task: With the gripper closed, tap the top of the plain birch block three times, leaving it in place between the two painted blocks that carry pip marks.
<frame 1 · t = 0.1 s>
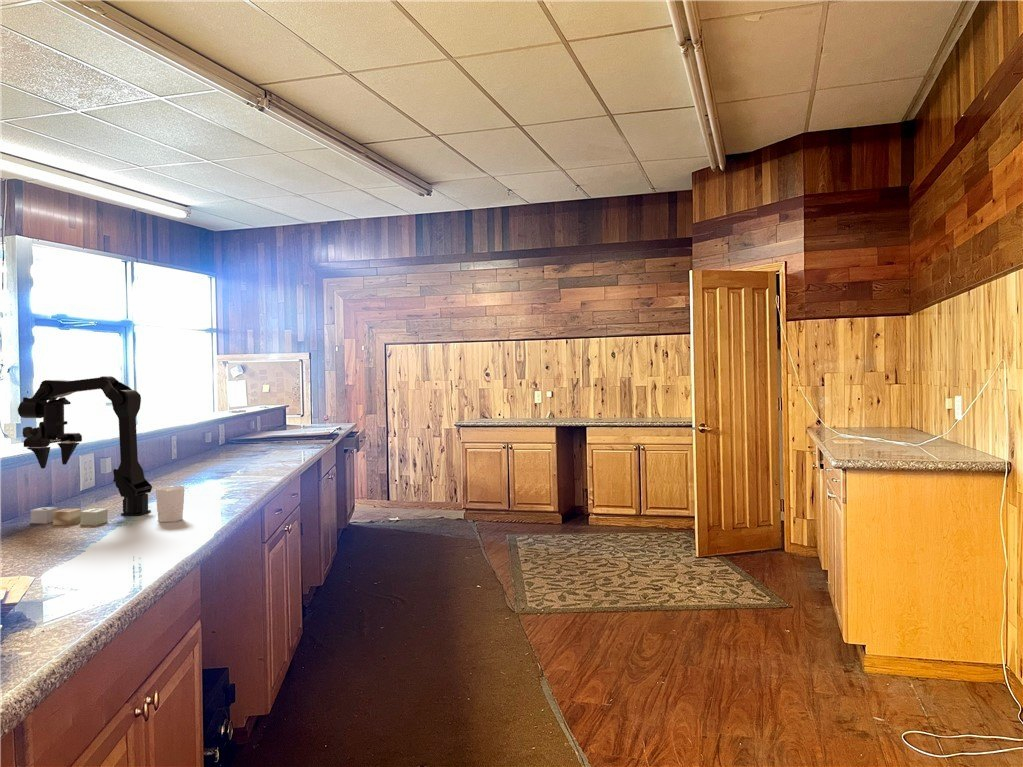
hand: (54, 466, 227), 15 cm above the countertop, fingers open, 9 cm apart
white cup: (170, 520, 216), on the countertop
birch block: (67, 523, 211), on the countertop
sage block one: (94, 523, 211), on the countertop
bluegrey block two: (44, 521, 212), on the countertop
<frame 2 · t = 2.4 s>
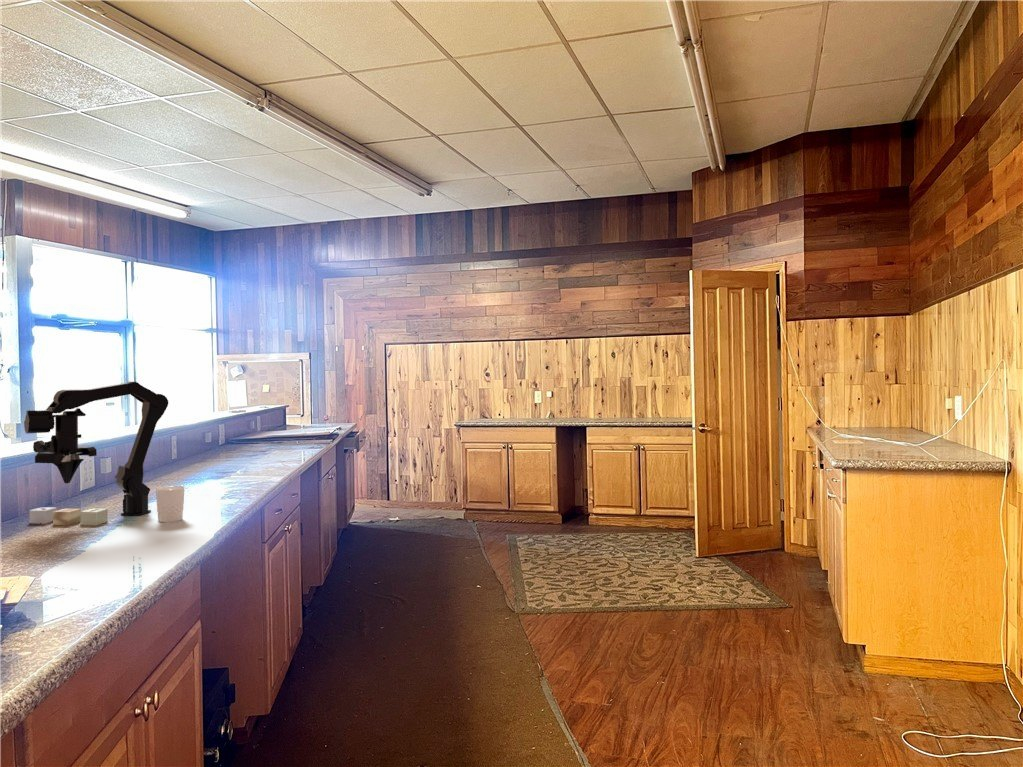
hand: (67, 483, 210), 12 cm above the countertop, fingers closed
nothing on the countertop moved.
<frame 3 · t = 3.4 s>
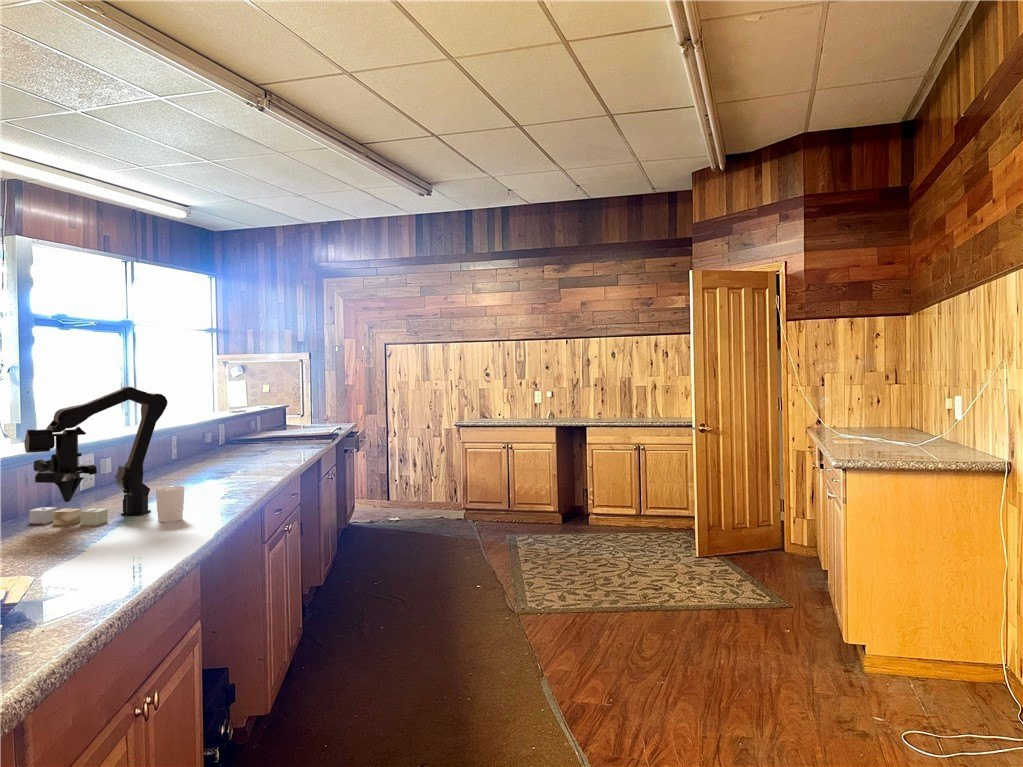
hand: (67, 501, 210), 6 cm above the countertop, fingers closed
nothing on the countertop moved.
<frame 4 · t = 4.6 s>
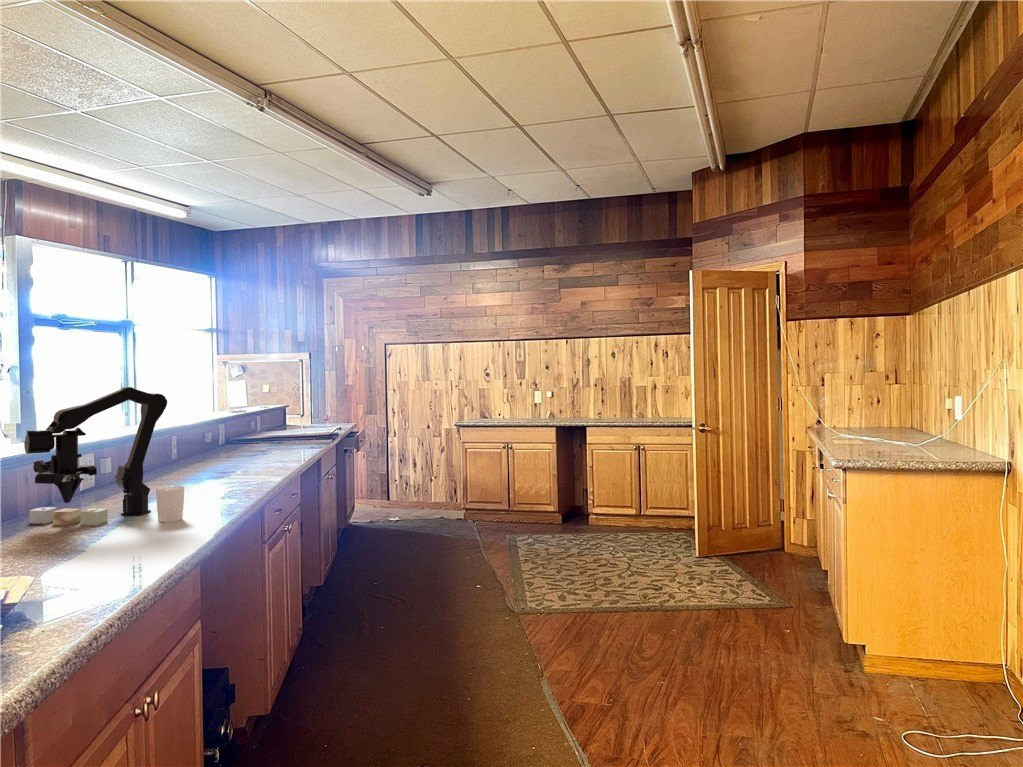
hand: (67, 502, 210), 6 cm above the countertop, fingers closed
nothing on the countertop moved.
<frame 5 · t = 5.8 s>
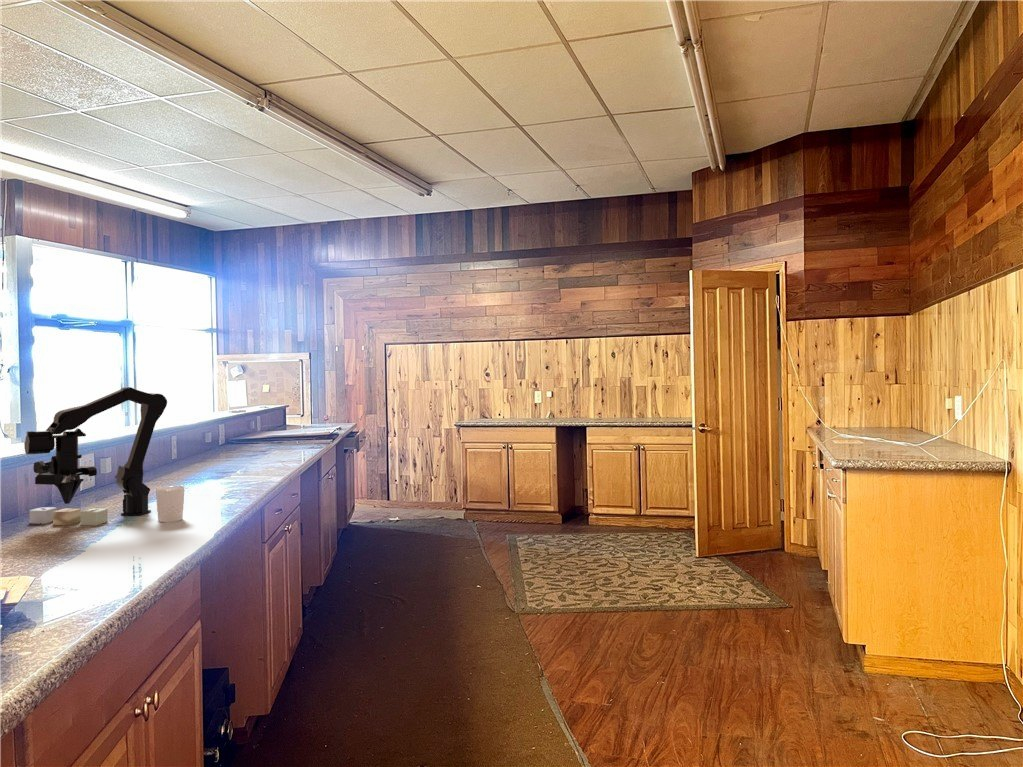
hand: (67, 503, 210), 6 cm above the countertop, fingers closed
nothing on the countertop moved.
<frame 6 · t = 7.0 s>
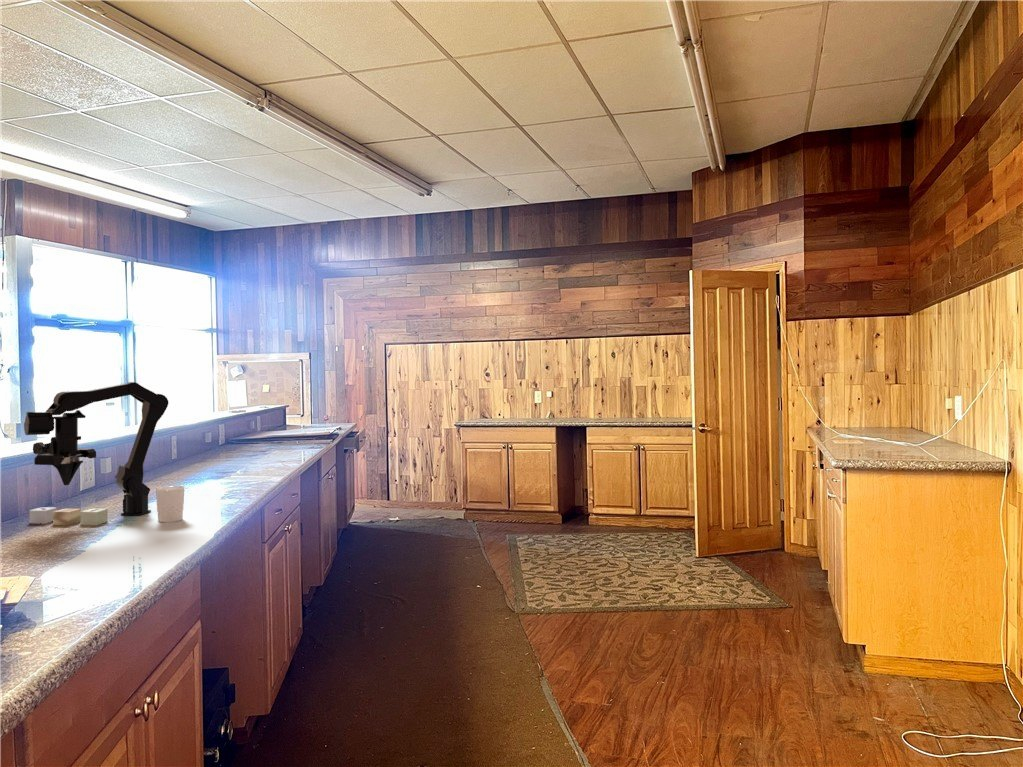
hand: (66, 485, 210), 11 cm above the countertop, fingers closed
nothing on the countertop moved.
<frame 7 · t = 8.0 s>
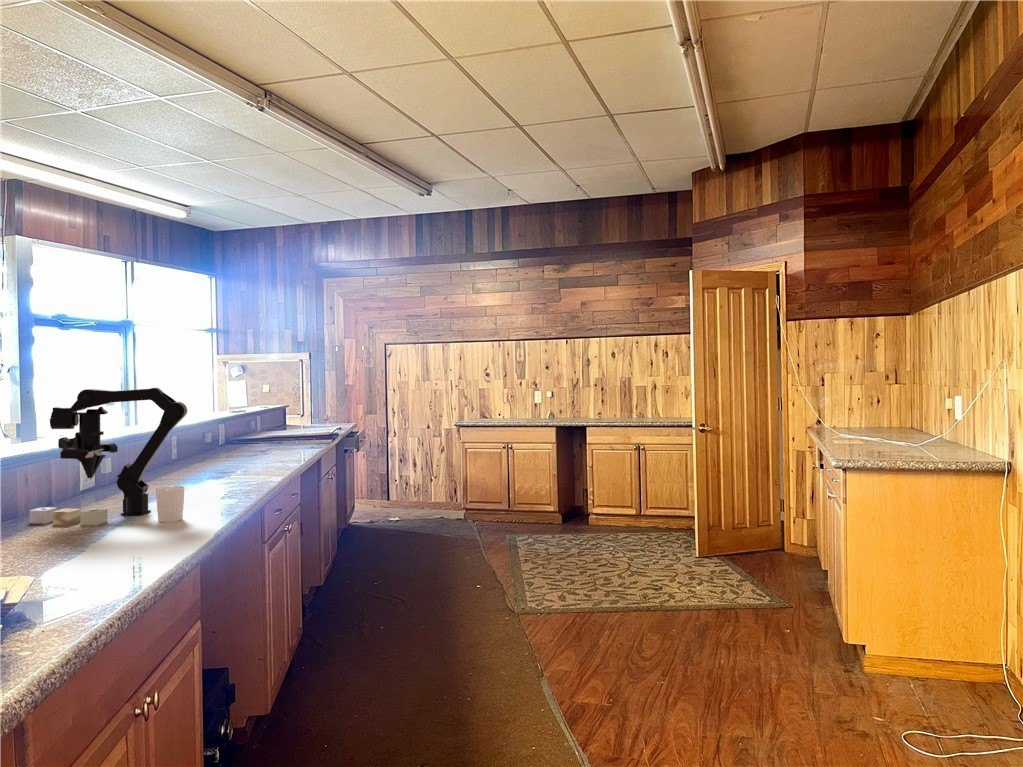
hand: (90, 478, 220), 12 cm above the countertop, fingers closed
nothing on the countertop moved.
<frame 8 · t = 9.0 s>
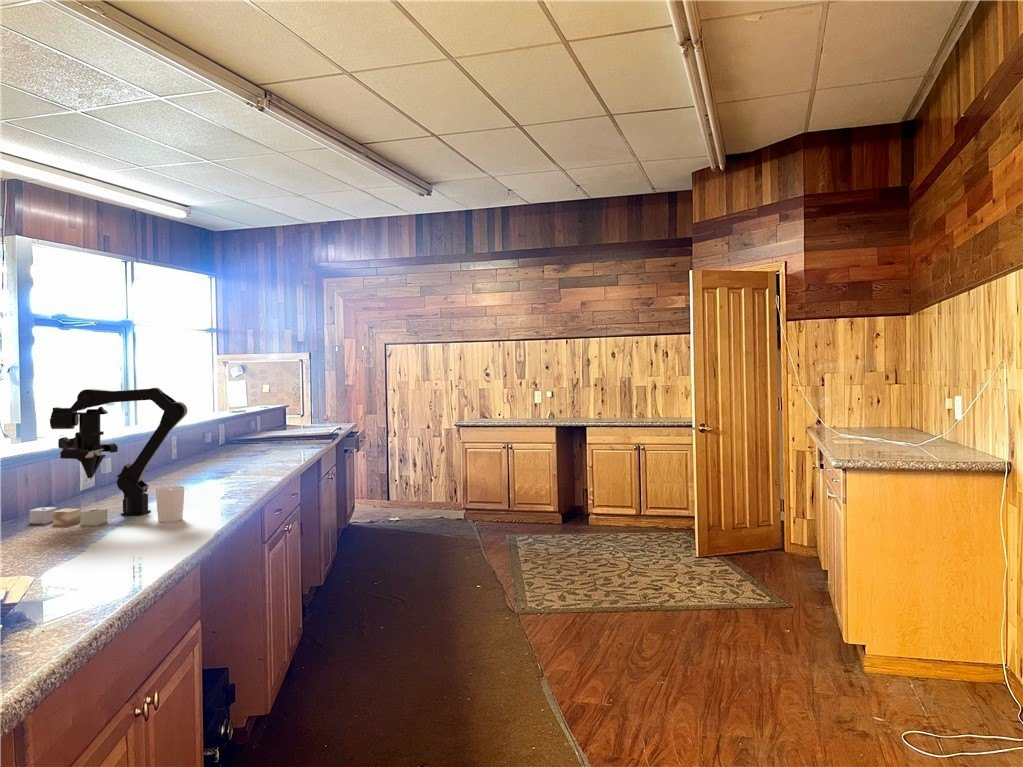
hand: (90, 478, 220), 12 cm above the countertop, fingers closed
nothing on the countertop moved.
at the end: birch block moved 0.2 cm from its start; birch block tilted 0°; sage block one moved 0.2 cm from its start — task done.
